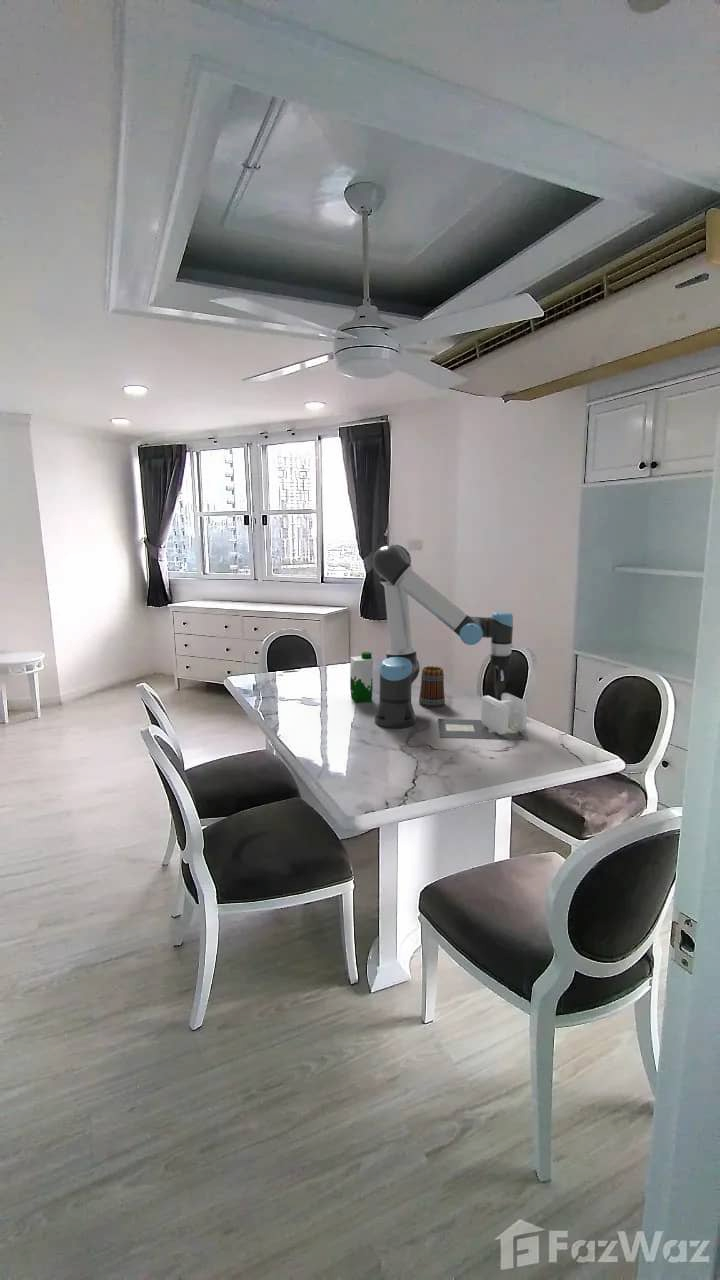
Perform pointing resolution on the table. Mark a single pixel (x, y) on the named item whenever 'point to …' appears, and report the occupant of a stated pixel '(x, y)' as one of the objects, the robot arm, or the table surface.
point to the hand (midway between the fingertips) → (498, 715)
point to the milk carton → (361, 678)
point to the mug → (432, 687)
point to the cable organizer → (504, 713)
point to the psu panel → (475, 730)
